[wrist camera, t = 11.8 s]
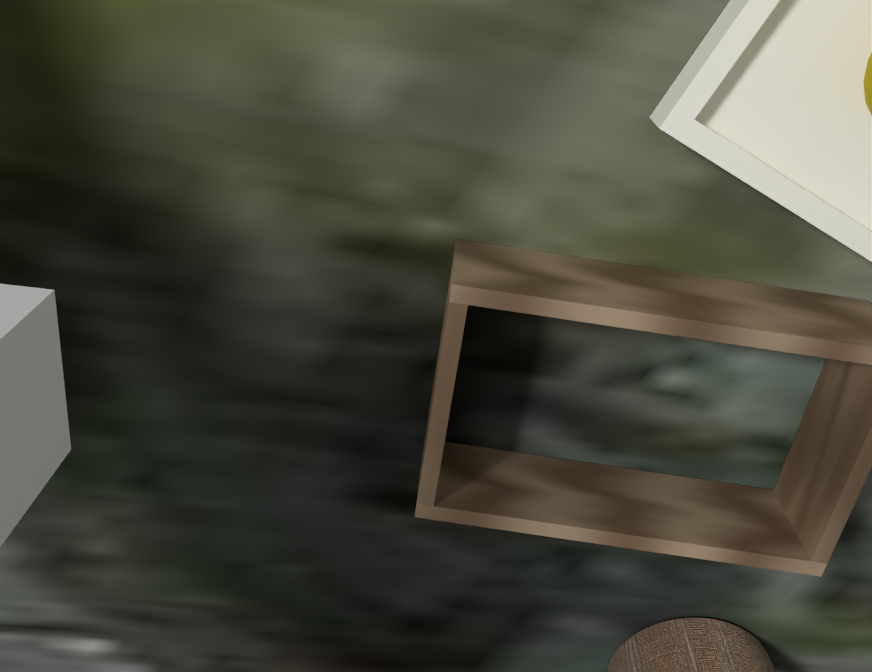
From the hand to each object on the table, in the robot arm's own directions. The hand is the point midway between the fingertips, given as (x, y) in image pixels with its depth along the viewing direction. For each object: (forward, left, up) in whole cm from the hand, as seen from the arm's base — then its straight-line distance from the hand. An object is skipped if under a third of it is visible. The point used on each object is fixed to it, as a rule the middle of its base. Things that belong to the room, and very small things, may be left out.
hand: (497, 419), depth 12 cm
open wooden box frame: (+13, -8, -26) cm, 30 cm away
